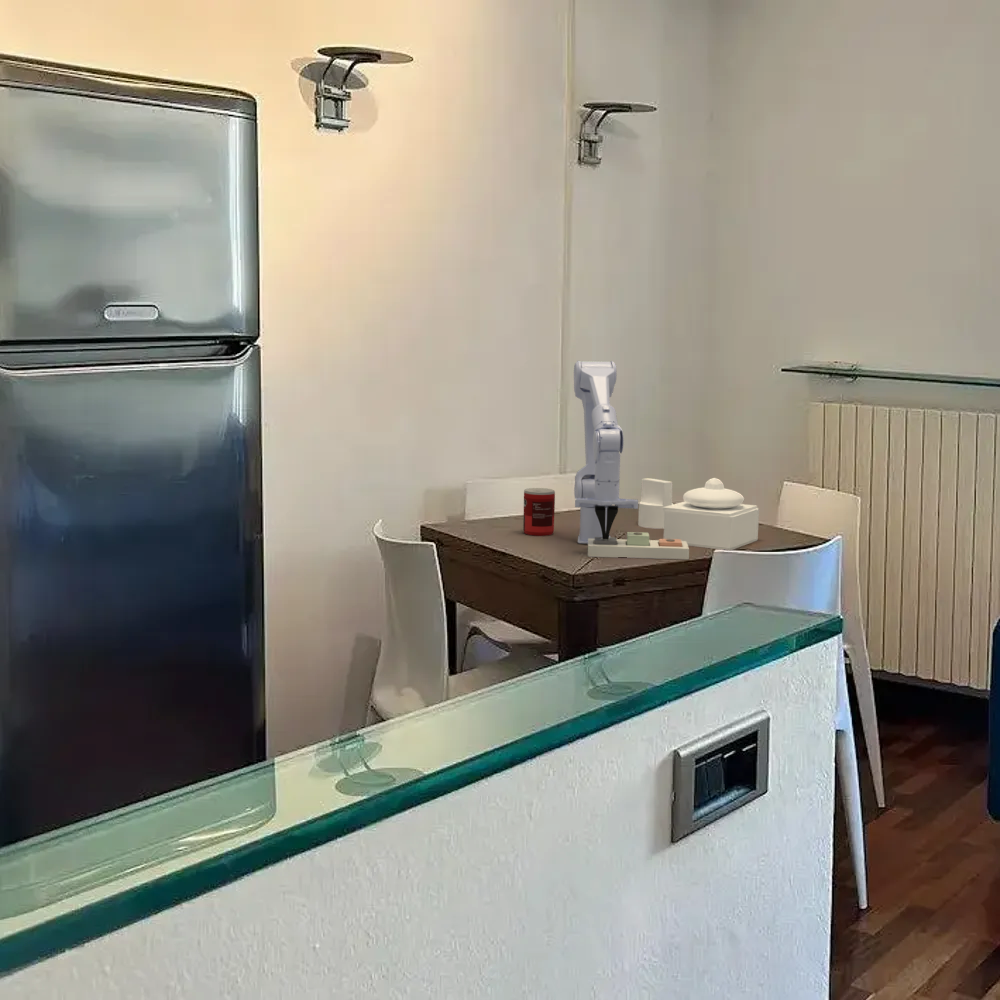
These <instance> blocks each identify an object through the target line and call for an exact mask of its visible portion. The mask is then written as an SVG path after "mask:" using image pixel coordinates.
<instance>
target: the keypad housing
mask: <svg viewBox="0 0 1000 1000" xmlns="http://www.w3.org/2000/svg"><path fill="white" fill-rule="evenodd" d="M681 542H682V547H670V546H659V539H655V540H654V539H653V540H652V539H649V546H634V545H627V538H626V539H623V538H622V539H621V538H619V539H617V538H616V545H599V544H595V539H591V538H588V544H587V557H588V558H589V557H590V558H618V557H627V558H626V559H630V558H631V559H652V560H653V559H655V560H656V559H661V560H689V559H690V548H689V547H690V546H688V544H687V542H686V541H681Z"/></svg>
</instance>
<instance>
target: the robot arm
mask: <svg viewBox="0 0 1000 1000" xmlns="http://www.w3.org/2000/svg"><path fill="white" fill-rule="evenodd" d="M617 375H618V374H617V364H616V363H615V362H614V361H613V360H610V361H596V360H595V361H589V360H588V361H583V360H582V361H580V360H576V362H575V363H574V368H573V389H574V390H573V391H574V395H575V398H578V399H579V400H581V402H582V403H581V404H582V408H583V418H584V419H583V420H584V421H583V423H584V425H583V426H584V446H585V447H584V448H585V450H584V451H585V465H584V466H583V467H581V468H580V469H579V470H578V471H576V473H575V476H574V490H573V491H574V492H573V494H574V508H580V510H579V511H580V512H579V516H580V517H579V519H580V520H579V535H578V537H577V543H578V544H587V545H588V538H591V539H595V537H603V539H609V537H611V535H610V532H611V529H612V526H613V524H614V520H615V519H616V517H617V515H618V512H619V509H633V510H639V500H638V499H632V498H620V478H621V475H620V473H621V454H622V452H624V451H623V450H624V445H625V444H624V443H625V442H624V441H625V438H624V431H623V429H622V427H621V426H620V425H619V423H618V418H617V411H616V409H615V407H614V406H613V405H611V401H610V398H611V397H612V395H613V393H614V389H615V386H616V385H615V384H616V383H617Z"/></svg>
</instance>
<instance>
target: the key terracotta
mask: <svg viewBox="0 0 1000 1000" xmlns="http://www.w3.org/2000/svg"><path fill="white" fill-rule="evenodd" d="M658 540H659V546H670V547H682V542H681V539H664V538H658Z"/></svg>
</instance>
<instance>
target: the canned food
mask: <svg viewBox="0 0 1000 1000" xmlns="http://www.w3.org/2000/svg"><path fill="white" fill-rule="evenodd" d="M555 495H556V491H555V490H554V489H552V488H544V487H530V488H526V489H524V490H523V525H522V526H523V527H522V528H523V529H522V530H523V532H524V534H525V535H528V536H534V537H535V536H536V537H545V536H551V535H553V534H554V531H555V508H556V507H555V506H556V505H555V504H556V503H555V502H556V496H555Z"/></svg>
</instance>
